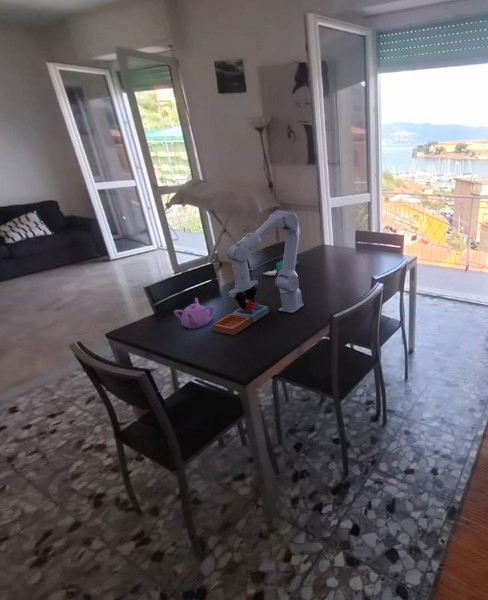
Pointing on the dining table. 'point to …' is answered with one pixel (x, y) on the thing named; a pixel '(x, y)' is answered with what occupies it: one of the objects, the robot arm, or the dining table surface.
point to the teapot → (195, 315)
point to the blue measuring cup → (249, 311)
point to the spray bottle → (277, 268)
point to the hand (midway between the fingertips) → (247, 306)
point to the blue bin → (254, 312)
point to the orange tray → (232, 324)
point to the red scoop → (249, 305)
